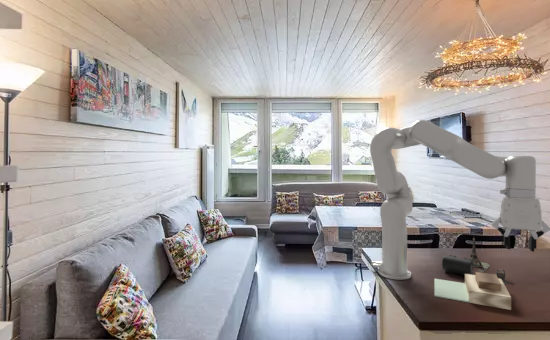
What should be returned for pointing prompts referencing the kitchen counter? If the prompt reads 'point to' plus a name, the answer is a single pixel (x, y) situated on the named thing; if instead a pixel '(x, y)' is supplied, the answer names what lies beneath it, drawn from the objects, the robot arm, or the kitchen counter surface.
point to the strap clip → (502, 276)
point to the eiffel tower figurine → (475, 259)
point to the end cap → (457, 265)
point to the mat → (450, 290)
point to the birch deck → (487, 294)
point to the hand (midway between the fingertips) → (519, 248)
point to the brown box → (488, 281)
